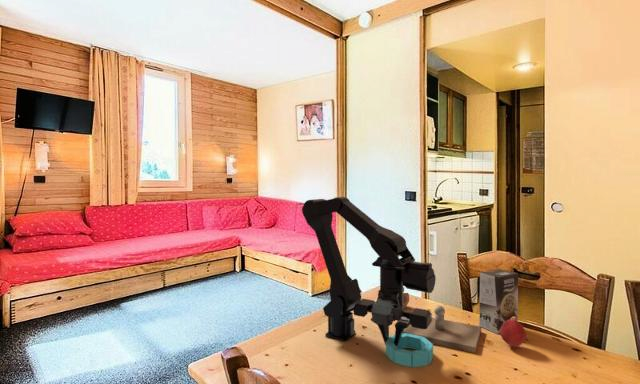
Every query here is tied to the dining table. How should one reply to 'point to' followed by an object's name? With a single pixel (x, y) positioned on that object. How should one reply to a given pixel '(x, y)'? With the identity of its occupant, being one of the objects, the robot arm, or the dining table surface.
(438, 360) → the dining table surface
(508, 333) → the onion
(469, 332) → the hook board
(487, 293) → the coffee box
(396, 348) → the teal octagonal ring
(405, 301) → the fruit slice
